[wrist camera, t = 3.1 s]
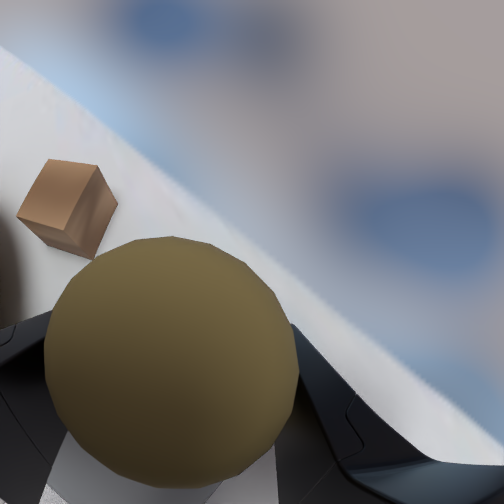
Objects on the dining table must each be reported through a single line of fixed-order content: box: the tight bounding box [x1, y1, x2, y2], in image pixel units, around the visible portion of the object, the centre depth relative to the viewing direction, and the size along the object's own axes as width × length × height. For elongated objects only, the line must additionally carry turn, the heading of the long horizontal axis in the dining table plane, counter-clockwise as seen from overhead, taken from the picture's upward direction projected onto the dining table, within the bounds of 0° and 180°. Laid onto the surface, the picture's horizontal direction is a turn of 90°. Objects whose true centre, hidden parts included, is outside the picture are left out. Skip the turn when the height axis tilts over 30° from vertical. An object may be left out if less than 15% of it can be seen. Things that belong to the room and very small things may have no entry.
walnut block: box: [16, 159, 118, 260], centre depth 15 cm, size 4×4×4 cm
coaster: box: [47, 431, 222, 504], centre depth 10 cm, size 8×8×1 cm
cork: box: [44, 236, 299, 489], centre depth 9 cm, size 6×6×11 cm
